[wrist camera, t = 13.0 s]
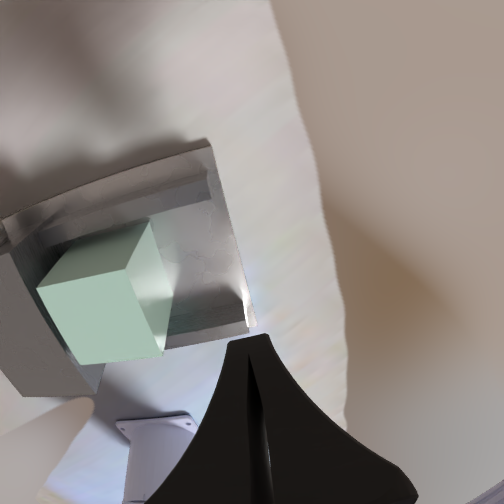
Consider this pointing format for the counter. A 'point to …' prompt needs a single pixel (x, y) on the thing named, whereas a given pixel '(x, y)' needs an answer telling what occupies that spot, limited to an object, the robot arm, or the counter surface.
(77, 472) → the counter surface
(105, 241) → the pale mint cube
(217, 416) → the robot arm
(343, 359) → the counter surface
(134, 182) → the motor mount
